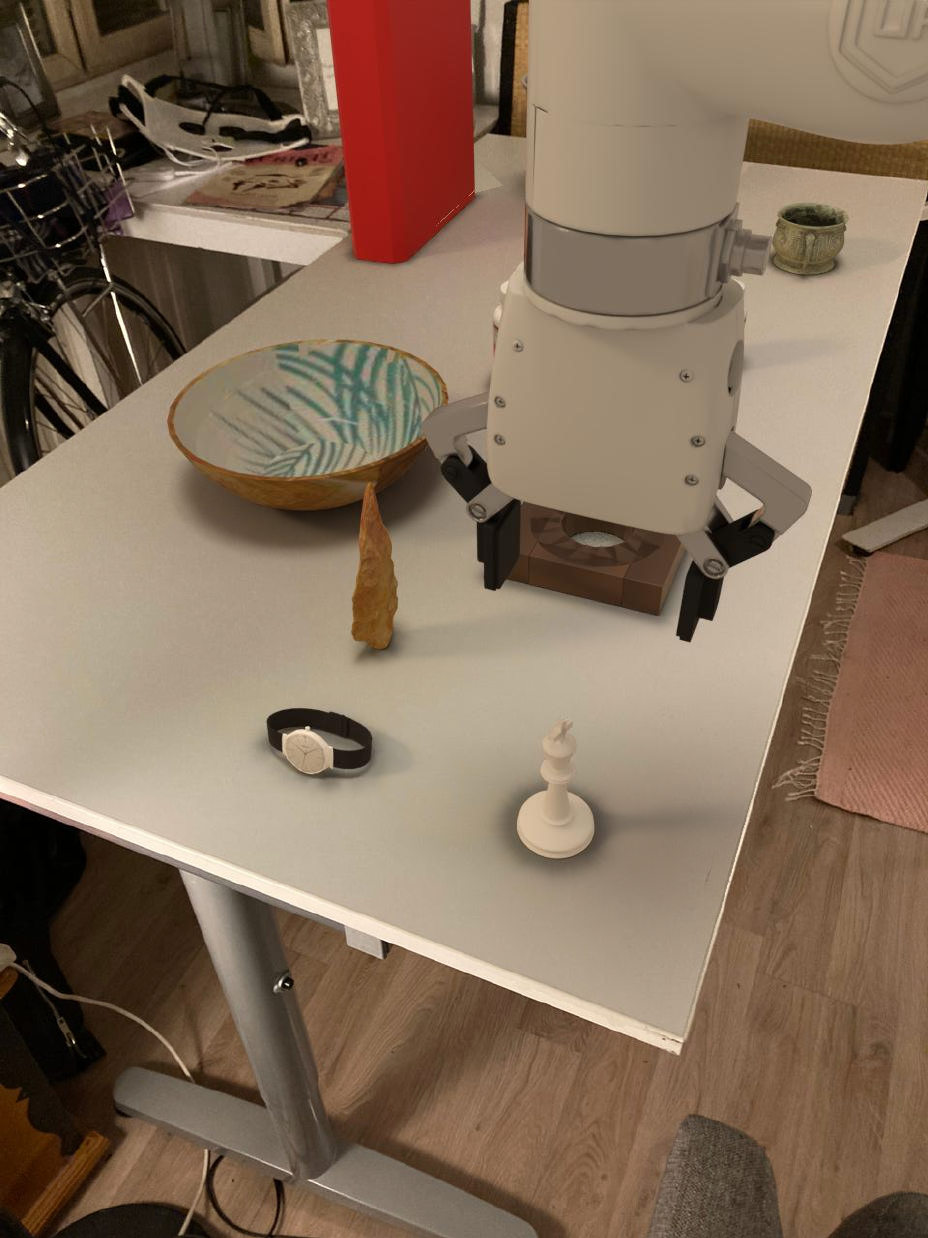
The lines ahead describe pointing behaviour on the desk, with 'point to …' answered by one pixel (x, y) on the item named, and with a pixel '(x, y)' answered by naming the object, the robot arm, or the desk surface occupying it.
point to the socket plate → (596, 559)
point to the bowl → (307, 421)
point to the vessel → (808, 237)
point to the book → (403, 119)
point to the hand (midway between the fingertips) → (593, 597)
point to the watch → (317, 739)
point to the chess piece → (556, 803)
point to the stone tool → (374, 579)
